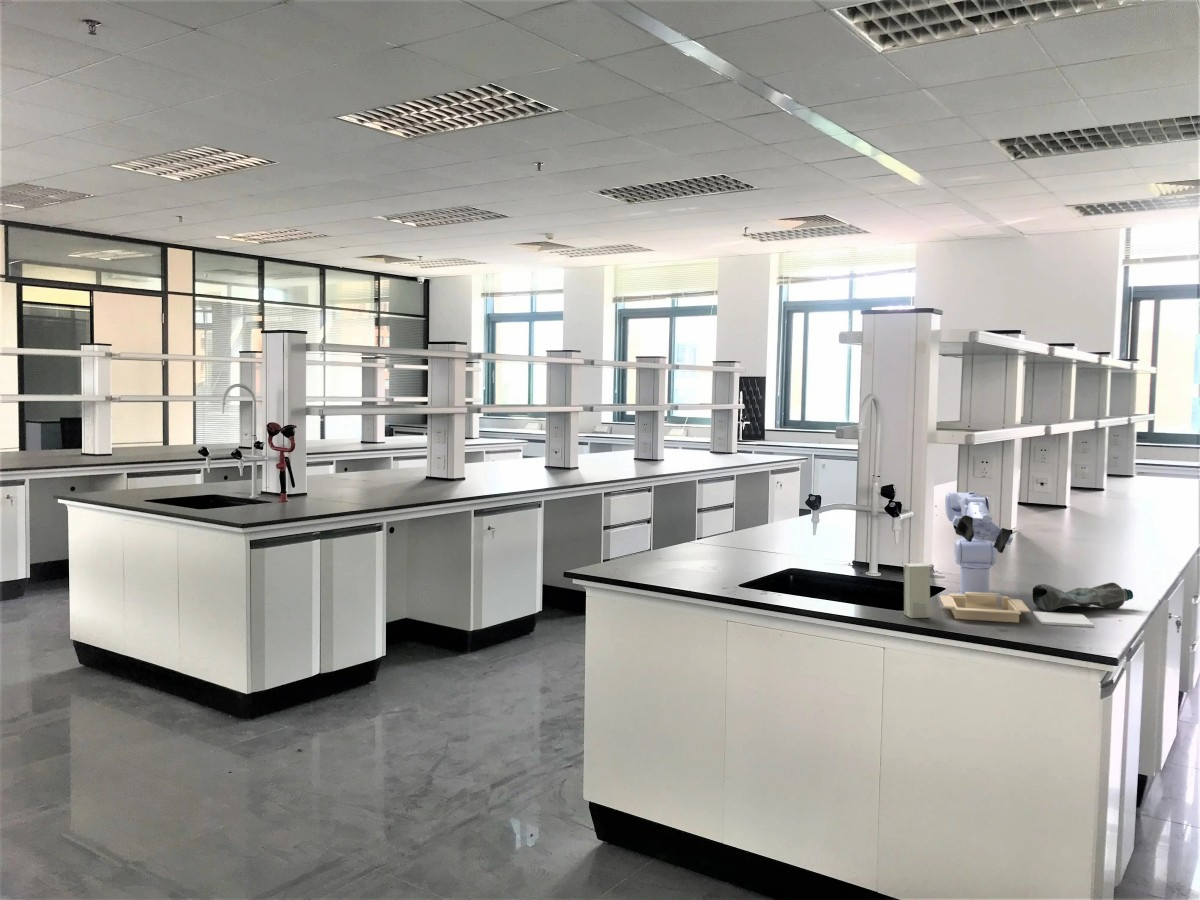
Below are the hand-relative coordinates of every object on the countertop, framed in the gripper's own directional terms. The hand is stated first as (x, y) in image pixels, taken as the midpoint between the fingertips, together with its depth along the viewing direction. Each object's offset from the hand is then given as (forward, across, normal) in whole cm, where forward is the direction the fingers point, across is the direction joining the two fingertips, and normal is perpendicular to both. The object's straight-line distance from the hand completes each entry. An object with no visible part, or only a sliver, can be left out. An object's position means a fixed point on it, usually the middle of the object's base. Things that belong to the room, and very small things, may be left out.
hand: (986, 543), depth 216 cm
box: (+8, -9, +21) cm, 25 cm away
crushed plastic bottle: (-10, +31, +12) cm, 35 cm away
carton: (+2, +6, +17) cm, 18 cm away
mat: (+4, +22, +10) cm, 25 cm away
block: (+2, +6, +17) cm, 18 cm away
